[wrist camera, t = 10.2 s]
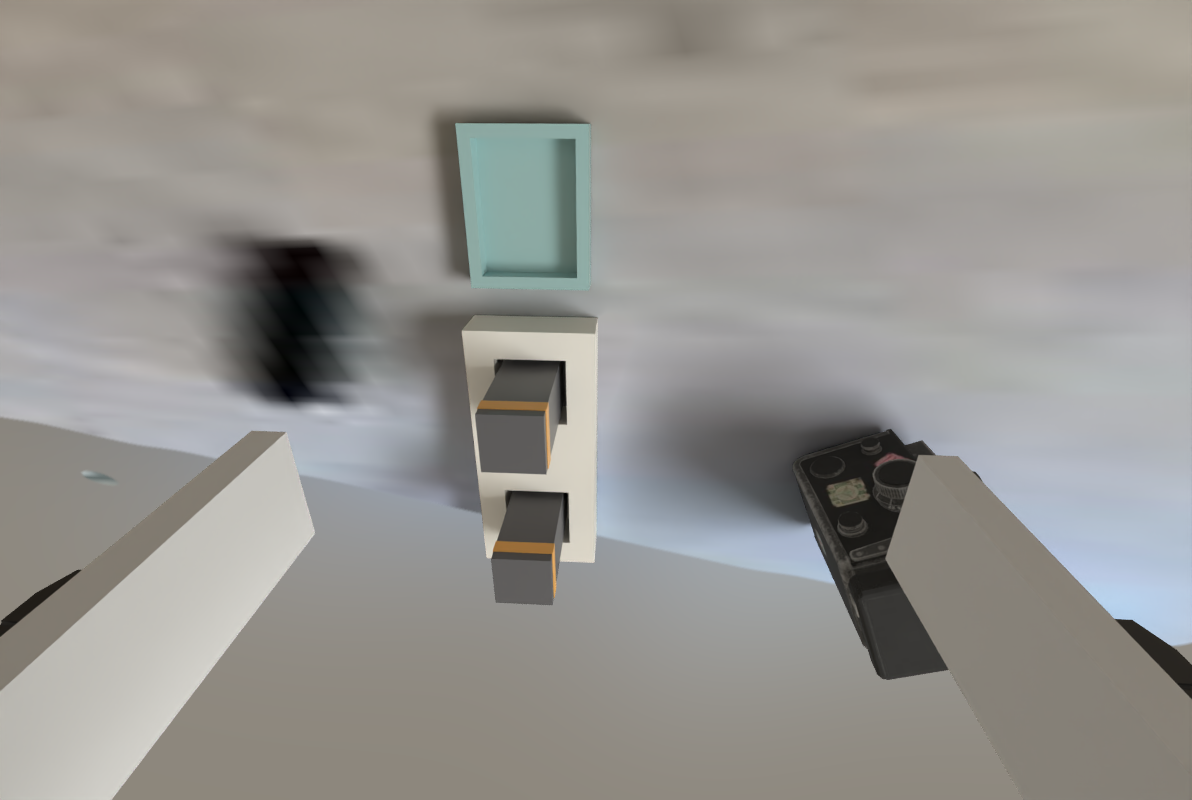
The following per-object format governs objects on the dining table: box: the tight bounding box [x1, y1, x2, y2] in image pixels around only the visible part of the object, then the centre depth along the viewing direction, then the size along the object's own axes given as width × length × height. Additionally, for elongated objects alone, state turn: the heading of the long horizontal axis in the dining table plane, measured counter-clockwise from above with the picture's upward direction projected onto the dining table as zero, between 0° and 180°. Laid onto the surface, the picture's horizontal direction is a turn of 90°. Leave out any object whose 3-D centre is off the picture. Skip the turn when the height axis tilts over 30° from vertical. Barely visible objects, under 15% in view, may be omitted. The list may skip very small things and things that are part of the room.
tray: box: [455, 123, 591, 290], centre depth 36 cm, size 10×8×2 cm
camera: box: [793, 429, 982, 680], centre depth 38 cm, size 10×11×15 cm
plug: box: [475, 359, 564, 475], centre depth 37 cm, size 4×4×10 cm
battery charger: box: [462, 315, 598, 605], centre depth 40 cm, size 20×9×10 cm, turn 0°
